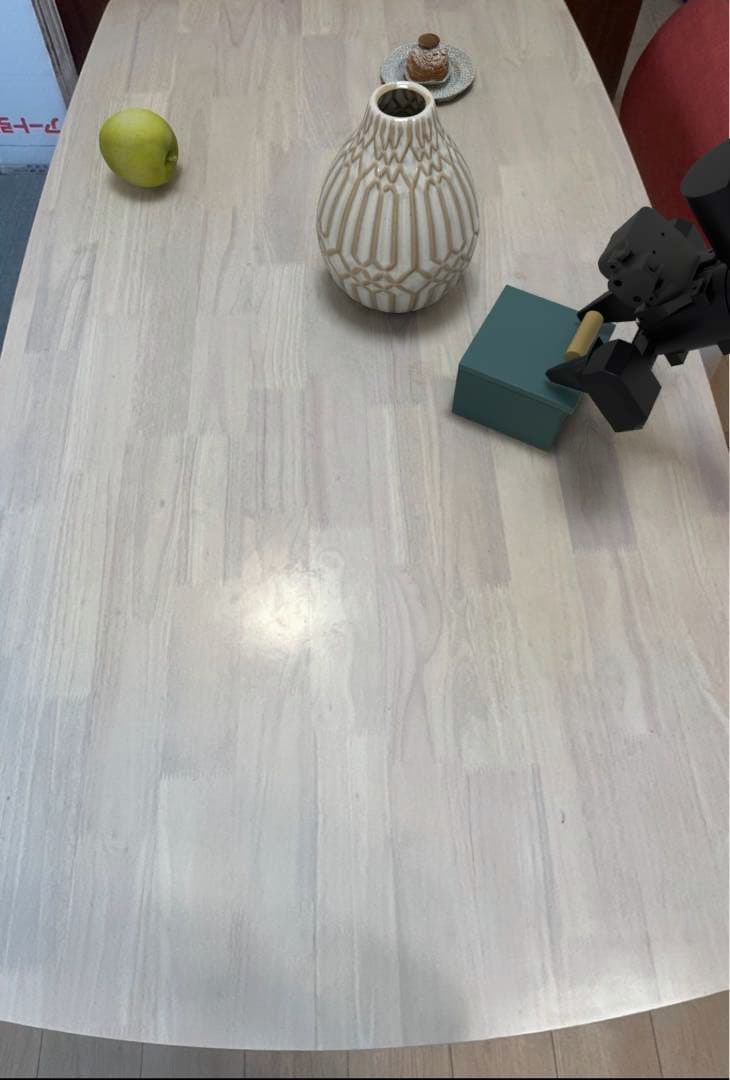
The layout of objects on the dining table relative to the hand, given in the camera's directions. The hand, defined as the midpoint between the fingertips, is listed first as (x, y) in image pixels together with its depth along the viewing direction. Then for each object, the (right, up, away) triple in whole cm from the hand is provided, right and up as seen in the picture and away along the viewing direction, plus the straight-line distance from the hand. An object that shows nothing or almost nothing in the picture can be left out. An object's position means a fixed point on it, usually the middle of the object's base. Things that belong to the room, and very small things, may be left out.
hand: (564, 346), depth 66 cm
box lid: (-2, 0, +2) cm, 3 cm away
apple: (-42, +25, +22) cm, 54 cm away
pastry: (-9, +42, +30) cm, 53 cm away
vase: (-14, +11, +15) cm, 23 cm away
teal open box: (-2, -2, +8) cm, 8 cm away
